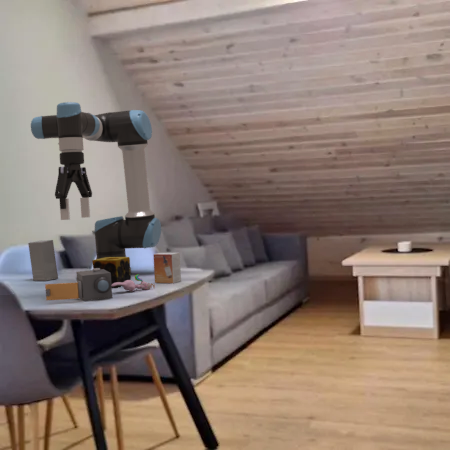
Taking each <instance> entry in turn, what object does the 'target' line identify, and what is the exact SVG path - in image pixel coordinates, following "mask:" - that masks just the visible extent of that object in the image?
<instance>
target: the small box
mask: <svg viewBox="0 0 450 450" xmlns="http://www.w3.org/2000/svg"><path fill="white" fill-rule="evenodd" d="M153 269H154V270H153V271H154V272H153V273H154V274H153V275H154V284H156V283H157V284H158V283H161V284H176V283H179V281H180V282H182V276H181V275H182V273H181V271H182V270H181V253H180V252H158V253H154V254H153Z"/></svg>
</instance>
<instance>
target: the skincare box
mask: <svg viewBox="0 0 450 450" xmlns="http://www.w3.org/2000/svg"><path fill="white" fill-rule="evenodd" d="M27 245H28V250H29V251H28V252H29V260H30V266H31V273H32V280H33V281H35V282H36V281H43V282H44V281H51V280H58V279H59V274H58V267H57V260H56V252H55V246H54V240H53V239H48V240H37V241H30V242H28V243H27Z"/></svg>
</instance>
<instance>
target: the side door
mask: <svg viewBox="0 0 450 450" xmlns="http://www.w3.org/2000/svg"><path fill="white" fill-rule="evenodd" d="M44 286H45V290H44V291H45V299H46V301H61V300H64V301H65V300H76V299H79V300H82V286H81V281H78V282H77V281H76V282H64V283H63V282H61V283H46V284H45V285H44Z"/></svg>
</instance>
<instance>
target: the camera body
mask: <svg viewBox="0 0 450 450" xmlns="http://www.w3.org/2000/svg"><path fill="white" fill-rule="evenodd" d="M75 273H76V274H75V275H76V282H78V281H81V286H82V299H81V300H82V301H83V302H89V301H95V300H96V301H97V300H105V299H106V300H107V299H113V291H112V290H113V288H112V285H111V273H110V272H108V271H106V270H104V269H100V268H94V269H93V268H92V270H82V271H76V272H75Z"/></svg>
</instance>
